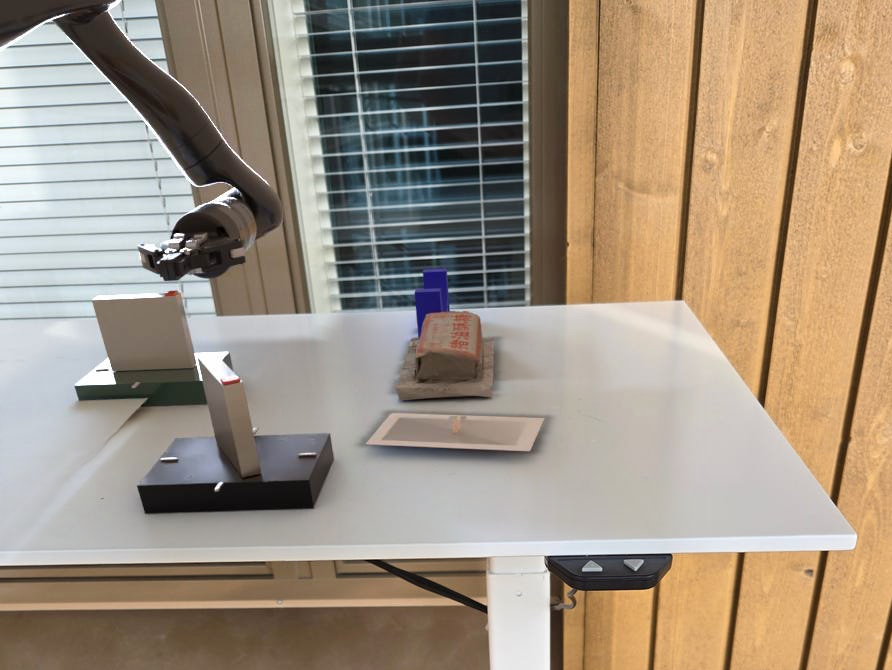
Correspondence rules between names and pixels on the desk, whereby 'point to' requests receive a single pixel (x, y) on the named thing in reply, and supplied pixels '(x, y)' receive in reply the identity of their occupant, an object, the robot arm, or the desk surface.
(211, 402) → the red-tipped upright panel
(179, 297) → the beige slab
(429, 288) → the blue stepped block
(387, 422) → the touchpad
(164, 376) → the green base plate
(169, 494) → the black square base
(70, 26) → the robot arm
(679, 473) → the desk surface
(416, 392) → the brown block with base
